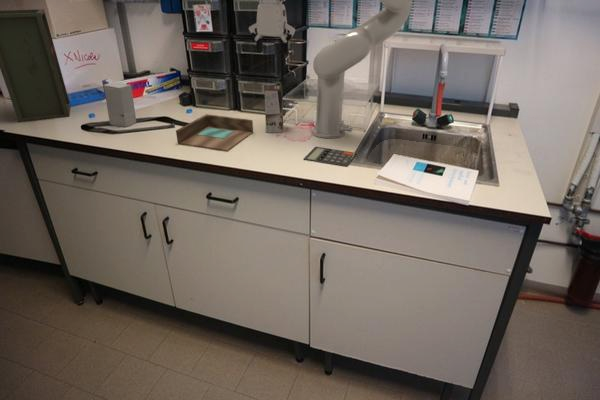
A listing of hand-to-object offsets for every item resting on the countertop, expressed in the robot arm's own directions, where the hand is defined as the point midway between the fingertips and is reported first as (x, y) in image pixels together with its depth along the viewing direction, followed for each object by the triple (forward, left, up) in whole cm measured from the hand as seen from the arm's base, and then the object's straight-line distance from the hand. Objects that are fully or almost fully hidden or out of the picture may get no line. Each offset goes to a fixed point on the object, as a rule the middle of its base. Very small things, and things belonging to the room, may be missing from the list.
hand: (272, 53), depth 147 cm
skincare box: (+59, +16, -29) cm, 67 cm away
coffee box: (0, 0, -29) cm, 29 cm away
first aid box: (+100, +17, -29) cm, 105 cm away
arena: (+16, +17, -28) cm, 37 cm away
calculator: (-28, +19, -29) cm, 45 cm away
